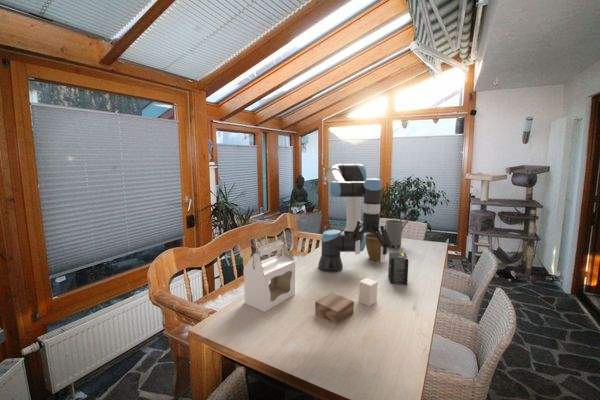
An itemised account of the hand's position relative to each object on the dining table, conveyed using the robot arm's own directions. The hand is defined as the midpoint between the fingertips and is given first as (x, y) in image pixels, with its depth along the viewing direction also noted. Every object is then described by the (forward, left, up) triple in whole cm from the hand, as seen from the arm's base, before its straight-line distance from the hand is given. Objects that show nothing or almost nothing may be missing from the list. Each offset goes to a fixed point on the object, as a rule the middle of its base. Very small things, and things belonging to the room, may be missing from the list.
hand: (369, 257), depth 134 cm
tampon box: (-2, +33, -22) cm, 40 cm away
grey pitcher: (-35, +91, -22) cm, 100 cm away
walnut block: (-4, -20, -22) cm, 30 cm away
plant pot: (-30, +55, -22) cm, 67 cm away
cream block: (0, 0, -22) cm, 22 cm away
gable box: (-34, -32, -22) cm, 52 cm away
